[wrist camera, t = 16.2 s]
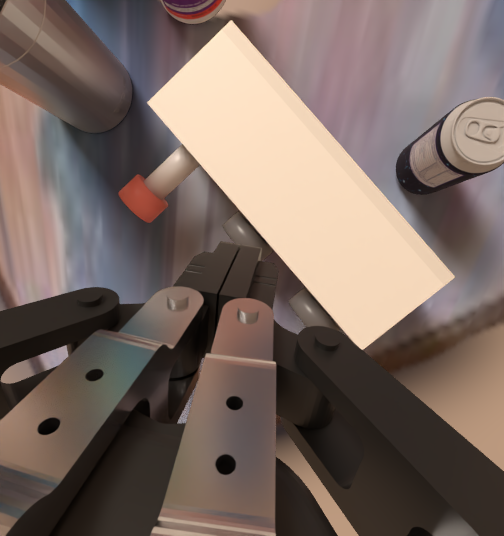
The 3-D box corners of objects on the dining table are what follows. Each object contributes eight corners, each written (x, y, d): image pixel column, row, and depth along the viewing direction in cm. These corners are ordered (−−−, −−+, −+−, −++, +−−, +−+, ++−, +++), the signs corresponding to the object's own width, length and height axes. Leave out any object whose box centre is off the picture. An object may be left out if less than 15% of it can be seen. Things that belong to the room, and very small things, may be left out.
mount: (336, 318, 38) (361, 351, 26) (189, 147, 38) (147, 102, 26) (399, 267, 37) (455, 277, 25) (247, 92, 37) (231, 19, 25)
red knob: (156, 224, 34) (139, 221, 30) (131, 195, 34) (111, 188, 30) (224, 161, 33) (216, 150, 29) (198, 131, 33) (186, 115, 29)
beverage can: (436, 202, 36) (511, 180, 24) (385, 187, 37) (435, 158, 25) (455, 151, 36) (541, 103, 24) (403, 136, 36) (462, 81, 24)
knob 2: (320, 334, 34) (326, 349, 29) (287, 297, 34) (288, 305, 29) (390, 277, 33) (409, 282, 28) (357, 239, 33) (370, 237, 28)
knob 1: (259, 263, 34) (255, 266, 29) (227, 226, 34) (217, 223, 29) (327, 204, 33) (335, 197, 28) (294, 166, 33) (296, 152, 28)
